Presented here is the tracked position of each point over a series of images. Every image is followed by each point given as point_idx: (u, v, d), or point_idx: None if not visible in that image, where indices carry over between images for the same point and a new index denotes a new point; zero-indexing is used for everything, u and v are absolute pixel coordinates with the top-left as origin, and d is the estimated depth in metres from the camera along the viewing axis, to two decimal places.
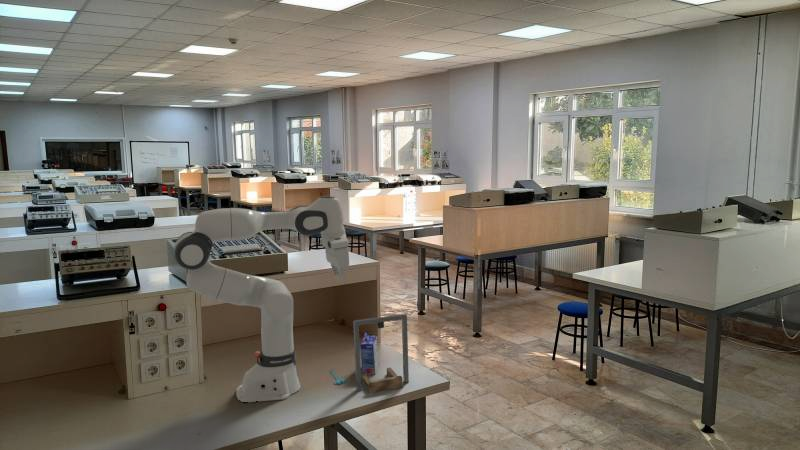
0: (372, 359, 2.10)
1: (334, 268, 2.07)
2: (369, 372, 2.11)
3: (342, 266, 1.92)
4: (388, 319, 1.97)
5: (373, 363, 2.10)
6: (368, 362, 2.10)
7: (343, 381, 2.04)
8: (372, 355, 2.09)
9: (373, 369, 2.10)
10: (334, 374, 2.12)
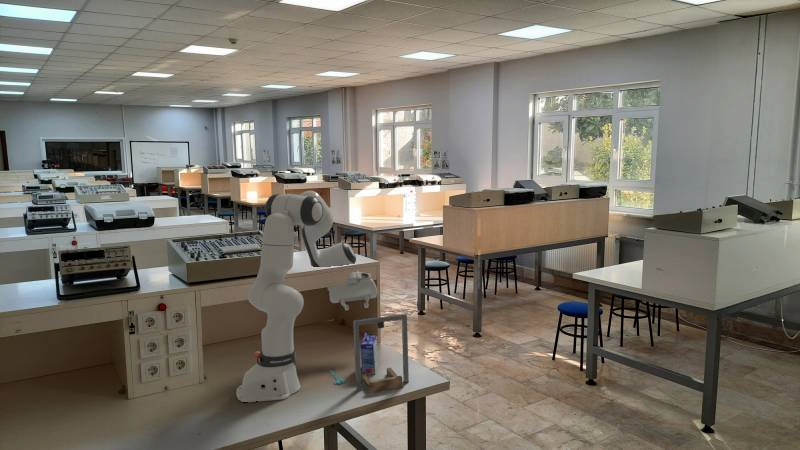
0: (372, 359, 2.10)
1: None
2: (369, 372, 2.11)
3: None
4: (388, 319, 1.97)
5: (373, 363, 2.10)
6: (368, 362, 2.10)
7: (343, 381, 2.04)
8: (372, 355, 2.09)
9: (373, 369, 2.10)
10: (334, 374, 2.12)
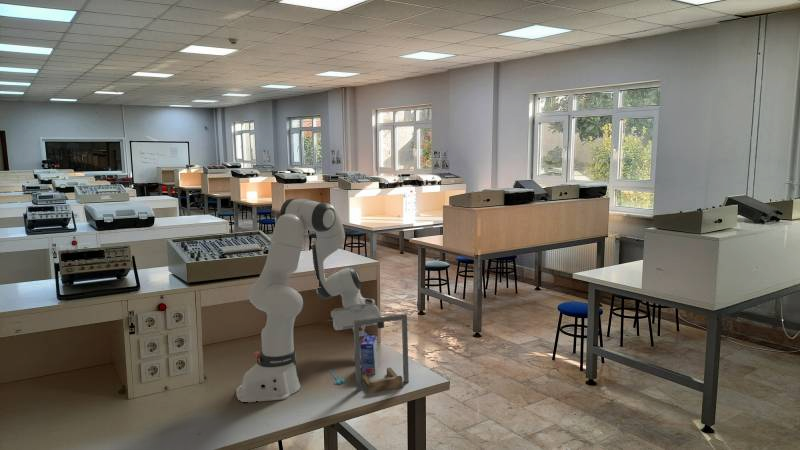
0: (372, 359, 2.10)
1: None
2: (369, 372, 2.11)
3: None
4: (388, 319, 1.97)
5: (373, 363, 2.10)
6: (368, 362, 2.10)
7: (343, 381, 2.04)
8: (372, 355, 2.09)
9: (373, 369, 2.10)
10: (334, 374, 2.12)
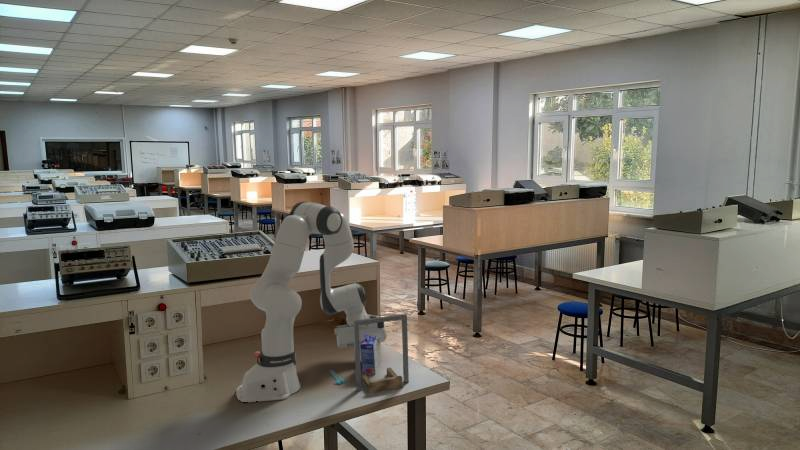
0: (372, 359, 2.10)
1: None
2: (369, 372, 2.11)
3: None
4: (388, 319, 1.97)
5: (373, 363, 2.10)
6: (368, 362, 2.10)
7: (343, 381, 2.04)
8: (372, 355, 2.09)
9: (373, 369, 2.10)
10: (334, 374, 2.12)
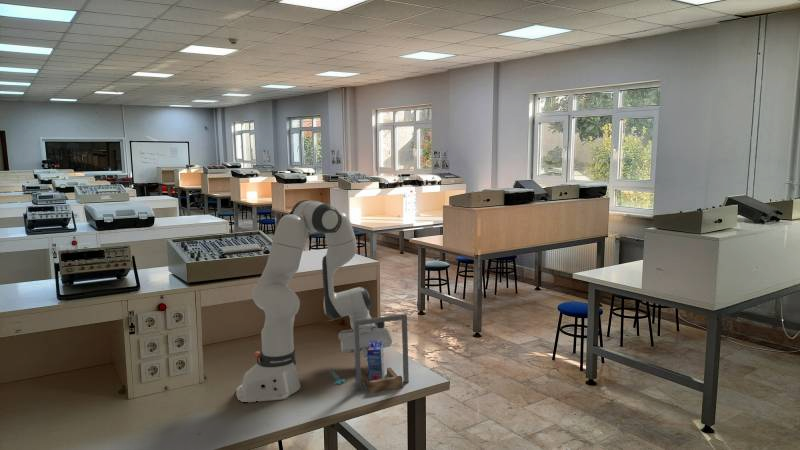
0: (379, 365, 2.04)
1: None
2: (376, 379, 2.04)
3: None
4: (388, 319, 1.97)
5: (380, 369, 2.04)
6: (375, 368, 2.04)
7: (343, 381, 2.04)
8: (379, 361, 2.03)
9: (380, 375, 2.04)
10: (335, 374, 2.12)
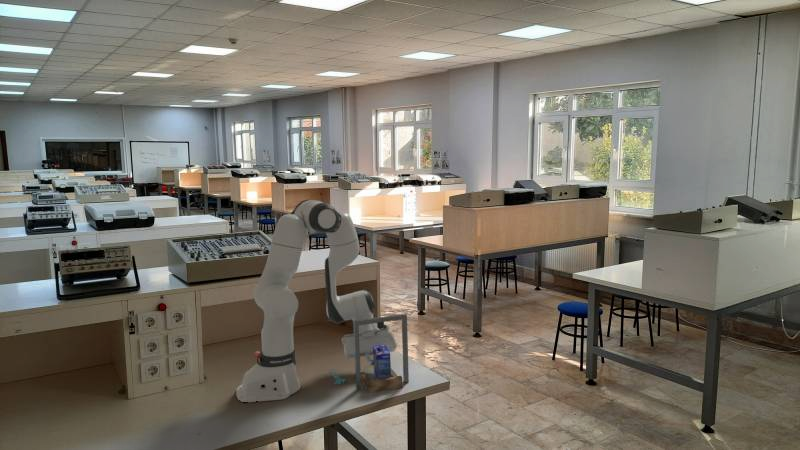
0: (389, 369, 1.99)
1: None
2: None
3: None
4: (388, 319, 1.97)
5: (390, 373, 2.00)
6: (384, 372, 1.99)
7: (343, 381, 2.04)
8: (389, 365, 1.99)
9: None
10: (335, 374, 2.12)
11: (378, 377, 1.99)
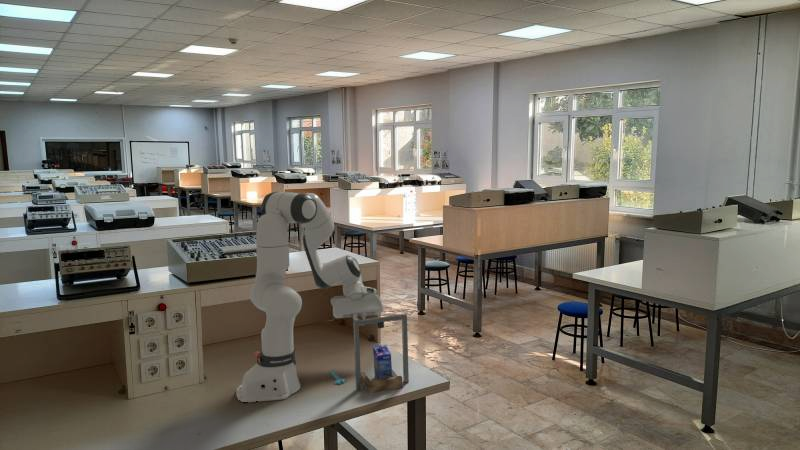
0: (390, 370, 1.99)
1: None
2: None
3: None
4: (388, 319, 1.97)
5: (391, 374, 1.99)
6: (385, 373, 1.99)
7: (343, 381, 2.04)
8: (390, 366, 1.99)
9: None
10: (334, 374, 2.12)
11: (379, 378, 1.99)
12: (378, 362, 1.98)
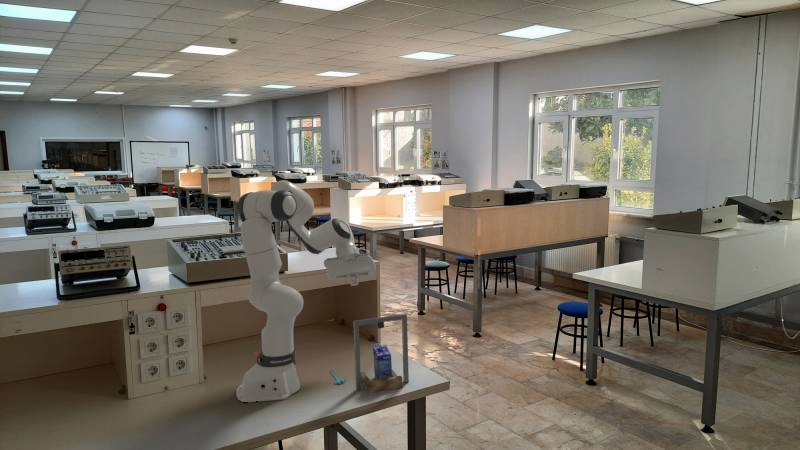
0: (390, 370, 1.99)
1: None
2: None
3: None
4: (388, 319, 1.97)
5: (391, 374, 1.99)
6: (385, 373, 1.99)
7: (343, 381, 2.04)
8: (390, 366, 1.99)
9: None
10: (334, 374, 2.12)
11: (379, 378, 1.99)
12: (378, 362, 1.98)
